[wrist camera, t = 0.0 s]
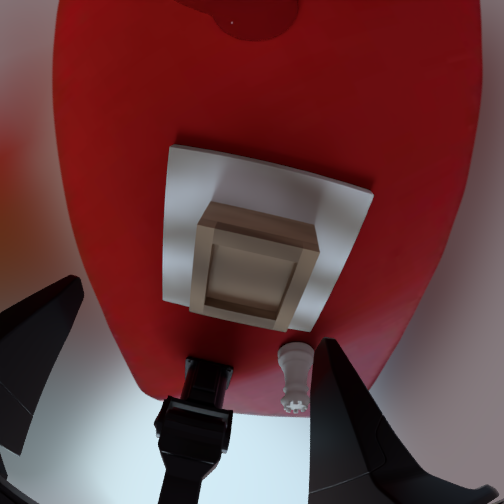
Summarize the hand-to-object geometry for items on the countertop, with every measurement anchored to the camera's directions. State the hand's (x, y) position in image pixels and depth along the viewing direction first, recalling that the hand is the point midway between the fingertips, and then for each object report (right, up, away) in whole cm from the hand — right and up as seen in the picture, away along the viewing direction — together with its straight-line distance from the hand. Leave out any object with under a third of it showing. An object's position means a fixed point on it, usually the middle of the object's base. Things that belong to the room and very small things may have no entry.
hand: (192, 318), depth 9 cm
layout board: (+2, +2, +16) cm, 16 cm away
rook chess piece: (+7, -10, +23) cm, 26 cm away
